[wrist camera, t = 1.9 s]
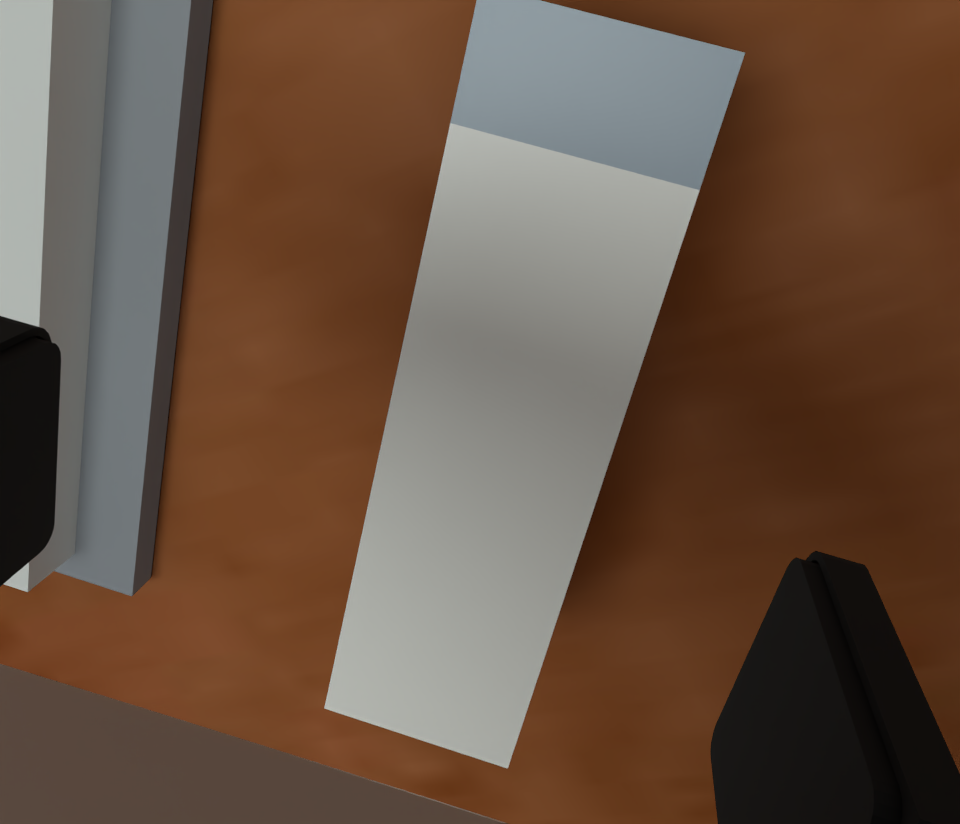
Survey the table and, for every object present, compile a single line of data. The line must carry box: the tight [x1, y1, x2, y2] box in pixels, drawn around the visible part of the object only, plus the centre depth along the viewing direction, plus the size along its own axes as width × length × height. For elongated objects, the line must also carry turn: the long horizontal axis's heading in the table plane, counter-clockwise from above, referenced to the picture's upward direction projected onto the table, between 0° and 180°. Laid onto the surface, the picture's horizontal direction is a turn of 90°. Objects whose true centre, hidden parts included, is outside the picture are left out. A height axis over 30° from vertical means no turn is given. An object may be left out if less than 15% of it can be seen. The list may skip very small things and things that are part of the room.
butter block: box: [325, 0, 745, 768], centre depth 18 cm, size 14×4×6 cm, turn 167°
